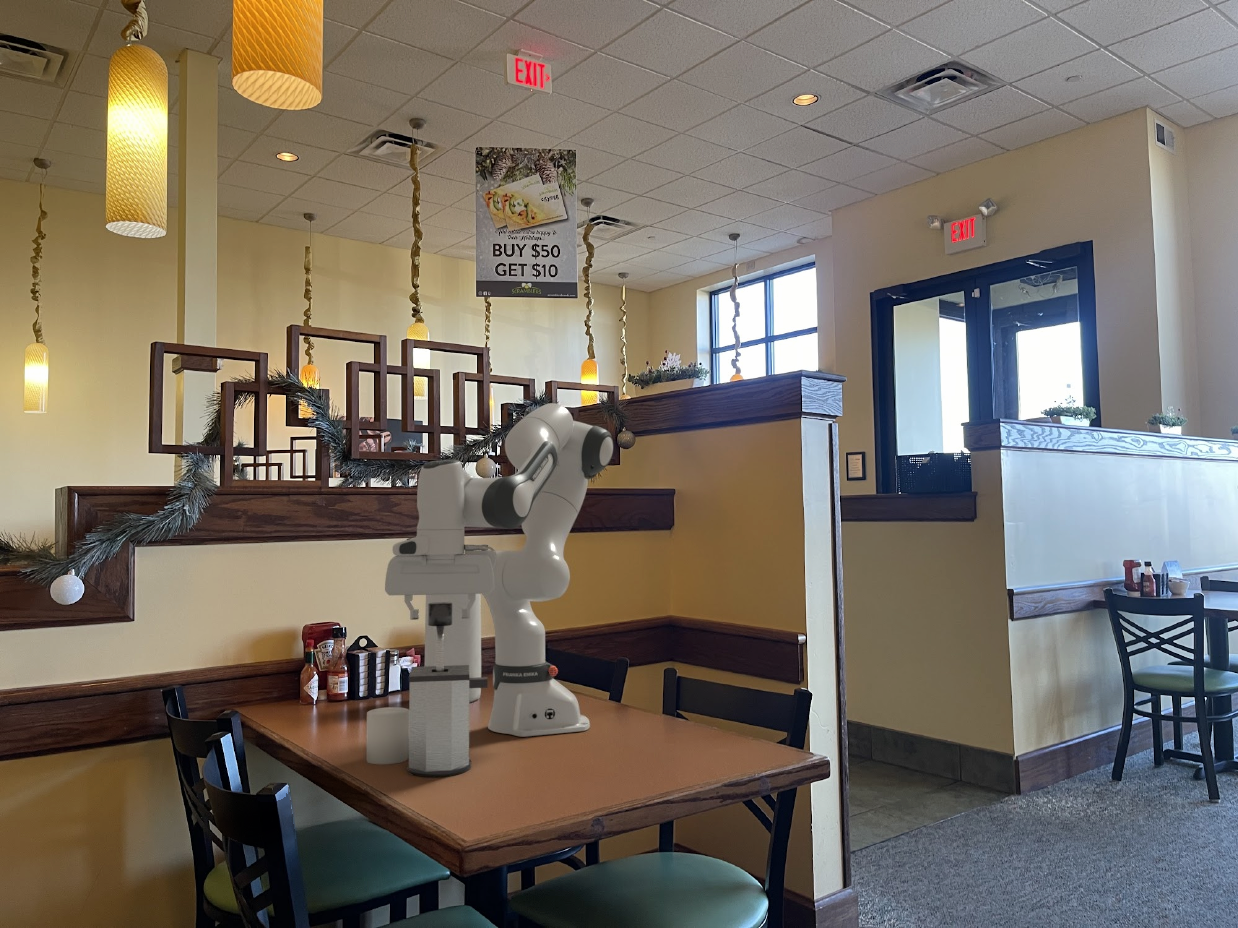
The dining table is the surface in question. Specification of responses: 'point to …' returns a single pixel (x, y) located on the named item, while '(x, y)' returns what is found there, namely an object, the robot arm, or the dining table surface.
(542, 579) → the robot arm
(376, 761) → the diner mug
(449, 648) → the vase
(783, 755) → the dining table surface
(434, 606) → the pump plunger
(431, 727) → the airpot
